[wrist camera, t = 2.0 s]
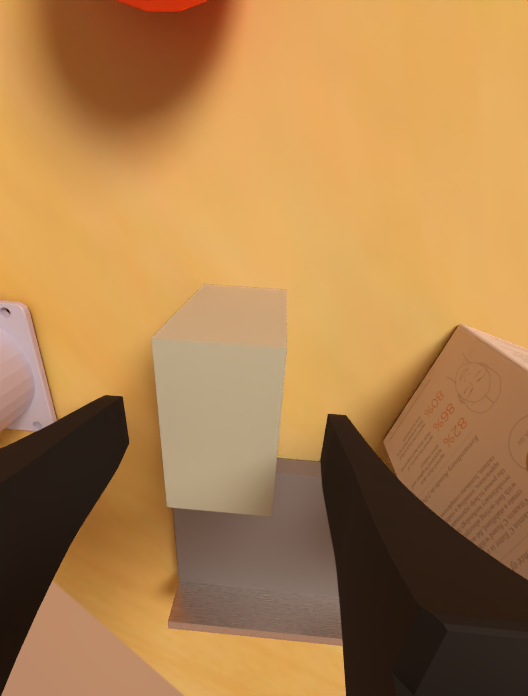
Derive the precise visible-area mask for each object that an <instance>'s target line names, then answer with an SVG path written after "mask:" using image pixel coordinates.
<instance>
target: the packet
mask: <svg viewBox="0 0 528 696" xmlns="http://www.w3.org/2000/svg"><path fill="white" fill-rule="evenodd" d="M151 340H152V351H153V362H154V373H155V383H156V394H157V405H158V416H159V427H160V437H161V448H162V459H163V470H164V481H165V492H166V502H167V507H171V508H182V509H193V510H204V511H215V512H226V513H237V514H248V515H259V516H270V517H271V516H272V505H273V494H274V483H275V472H276V462H277V451H278V440H279V429H280V418H281V408H282V397H283V386H284V375H285V365H286V354H287V303H286V289H272V288H257V287H243V286H229V285H214V284H204V285H203V286H202V287H201V288H200V289H199V290H198V291H197V292H196V293H195V294H194V295H193V296H192V297H191V298H190V299H189V300H188V301H187V302H186V303H185V304H184V305H183V306H182V307H181V308H180V309H179V310H178V311H177V312H176V313H175V314H174V315H173V316H172V317H171V318H170V319H169V320H168V321H167V322H166V324H165V325H164V326H163V327H162V328H161V329H160V330H159V331H158V332H157V333H156V334H155V335H154V336H153V337H152V338H151Z"/></svg>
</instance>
